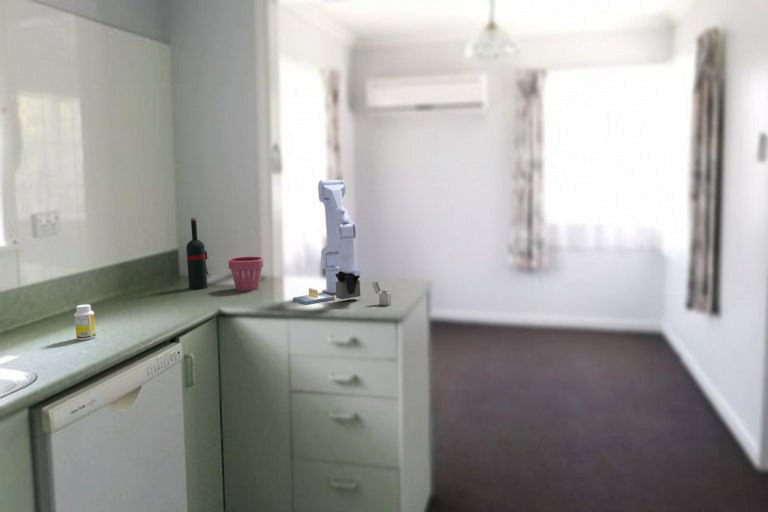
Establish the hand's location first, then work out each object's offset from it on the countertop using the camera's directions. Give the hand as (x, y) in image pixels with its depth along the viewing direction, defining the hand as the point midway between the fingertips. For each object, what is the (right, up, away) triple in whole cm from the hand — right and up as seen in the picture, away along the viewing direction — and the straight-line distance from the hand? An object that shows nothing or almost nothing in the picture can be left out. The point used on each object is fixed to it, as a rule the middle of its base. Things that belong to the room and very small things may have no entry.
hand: (348, 292), depth 261 cm
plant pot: (-43, 0, +33) cm, 54 cm away
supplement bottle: (-78, -12, -45) cm, 90 cm away
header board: (-13, -3, +3) cm, 14 cm away
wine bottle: (-65, 0, +40) cm, 77 cm away
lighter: (+12, -4, -8) cm, 15 cm away
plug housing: (0, -2, 0) cm, 2 cm away
